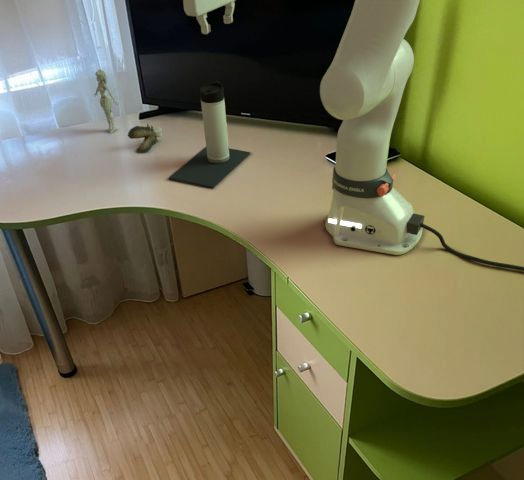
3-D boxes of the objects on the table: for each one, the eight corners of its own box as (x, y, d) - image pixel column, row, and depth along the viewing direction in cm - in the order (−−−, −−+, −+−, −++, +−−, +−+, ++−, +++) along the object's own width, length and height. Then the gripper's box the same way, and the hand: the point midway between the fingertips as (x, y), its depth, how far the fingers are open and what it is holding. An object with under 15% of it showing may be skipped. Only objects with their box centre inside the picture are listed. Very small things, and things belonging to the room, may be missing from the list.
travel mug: (234, 156, 159) (228, 83, 145) (221, 165, 155) (213, 91, 142) (216, 151, 162) (209, 79, 148) (203, 161, 158) (194, 87, 144)
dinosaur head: (142, 134, 172) (123, 140, 165) (151, 115, 167) (131, 121, 160) (160, 151, 172) (141, 158, 165) (169, 133, 167) (150, 139, 160)
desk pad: (250, 154, 161) (250, 152, 161) (212, 188, 148) (212, 186, 147) (208, 146, 166) (208, 144, 166) (168, 179, 152) (168, 177, 152)
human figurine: (97, 127, 180) (82, 68, 167) (106, 123, 182) (92, 64, 169) (119, 137, 174) (105, 76, 161) (129, 133, 176) (116, 72, 163)
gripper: (195, -30, 119) (203, 41, 128) (246, -48, 131) (250, 18, 141) (172, -32, 121) (181, 38, 131) (224, -49, 134) (229, 16, 143)
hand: (217, 28), depth 136 cm, fingers open, 8 cm apart
